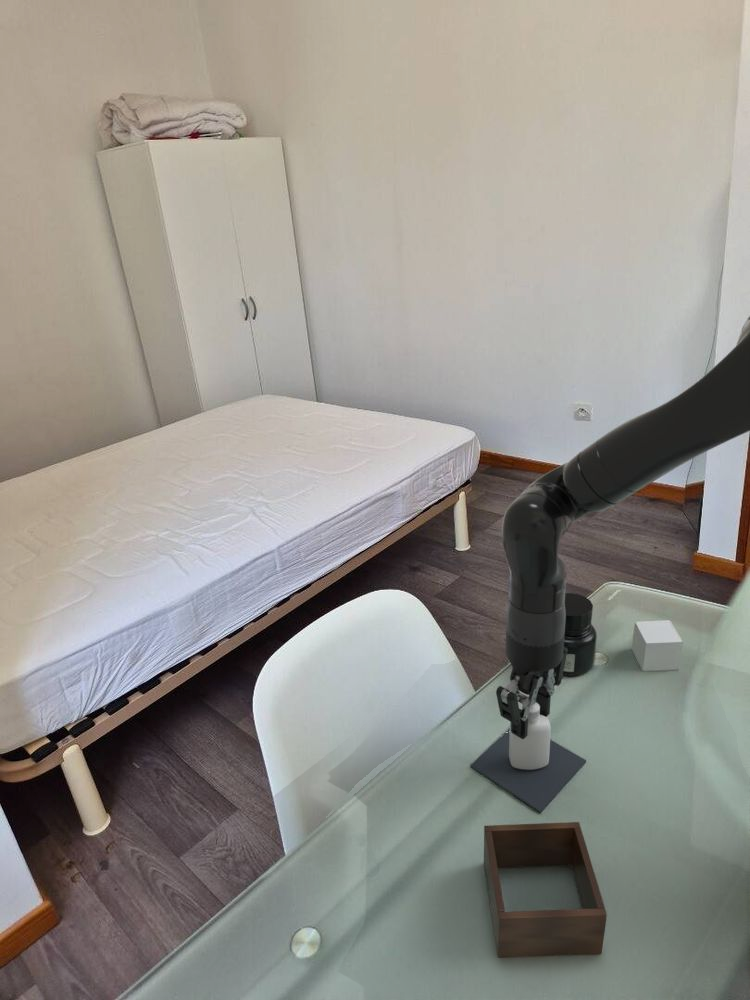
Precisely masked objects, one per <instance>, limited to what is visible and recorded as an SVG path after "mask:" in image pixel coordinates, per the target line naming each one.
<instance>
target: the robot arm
mask: <svg viewBox="0 0 750 1000" xmlns="http://www.w3.org/2000/svg"><path fill="white" fill-rule="evenodd" d="M739 333H740V334H739V336H738V339H737V342H736V345H735V346H734V348H732V349H731V350H730V351H729V352H728V353H727V354H726V355H725V356H724V357H723V358H722V359H721V360H720V361H719V362H718V363H717V364H716V365H714V367H712V368H711V369H710V370H709V371H708V372H707V373H706V374H705V375H704V376H702V377H701V378H700V379H699V380H697V381H696V382H695V383H694V384H692V385H691V386H690V387H688V388H687V389H685V390H683V391H682V392H681V393H680V394H678V395H676V396H674V397H673V398H671V399H669V400H668V401H667V402H664V403H663V404H661V405H659V406H657V407H655V408H653V409H650V410H648V411H645V412H644V413H642V414H639V415H637V416H635V417H633V418H630V419H629V420H627V421H625V422H623V423H621V424H620V425H618V426H616V427H614V428H613V429H611V430H610V431H608V432H607V433H605V434H603V436H601V437H600V438H598V439H596V440H595V441H593V442H592V443H591V444H590V445H588V446H586V447H585V448H583V450H581V451H580V452H578V453H577V454H576V455H575V456H573V457H572V458H571V459H570V460H569V461H567V462H564V463H563V464H561V465H559V466H558V467H555V468H553V469H551V470H550V471H548V472H546V473H545V474H543V475H541V476H540V477H538V478H536V480H534V481H533V482H532V483H530V484H529V485H528V486H527V487H526V488H525V489H524V490H523V491H522V492H521V493H520V494H519V495H518V496H517V497H516V498H515V499H514V500H513V501H512V502H511V503H510V504H509V506H508V507H507V508H506V510H505V512H504V515H503V519H502V525H501V541H502V545H503V550H504V553H505V559H506V563H507V566H508V569H509V577H508V600H507V606H506V612H505V613H506V616H505V617H506V619H505V655H506V657H507V659H508V661H509V663H510V665H511V666H512V669H511V672H510V676H509V683H508V684H507V685H506V686H505V687H503V686H501V685H499V686H498V687H497V688H496V691H495V694H496V695H495V696H496V699H497V700H496V701H497V704H498V705H497V706H498V709H499V714H500V715H499V716H501V717H502V718H504V719H505V720H507V721H509V723H510V722H511V733H513V734H514V735H516V736H518V737H519V738H521V739H524V738H525V737H527V732H528V714H529V710H530V706H532V705H534V704H535V702H537V703H538V704H539V706H540V715H543V716H545V717H547V718H548V716H549V715H550V714H551V699H552V696H553V694H554V693H555V686H557V687H559V686H560V685H561V684H562V680H563V676H564V675H563V671H564V666H565V661H566V656H567V651H568V649H567V648H565V647H564V635H565V621H566V611H565V593H566V589H567V568H566V564H565V562H564V560H563V559H562V558H561V557H560V556H559V547H560V543H561V539H562V538H563V536H564V535H565V533H566V532H567V531H568V529H569V528H570V527H571V526H572V525H574V523H576V522H577V521H578V520H580V519H581V518H583V517H585V516H586V515H588V514H589V513H599V512H603V511H606V510H609V509H610V508H612V507H614V506H616V505H617V504H619V503H620V502H623V501H624V500H626V499H628V498H629V497H631V496H632V495H634V494H636V493H638V492H639V491H640V490H642V489H644V488H645V487H647V486H649V485H650V484H651V483H654V482H655V481H657V480H659V479H660V478H662V477H663V476H665V475H667V474H668V473H670V472H672V471H673V470H675V469H677V468H678V467H680V466H682V465H684V464H686V463H687V462H689V461H691V460H693V459H695V458H696V457H698V456H700V455H703V454H704V453H707V452H708V451H710V450H713V449H714V448H716V447H718V446H721V445H723V444H726V443H727V442H729V441H731V440H734V439H735V438H738V437H739V436H742V435H744V434H746V433H749V432H750V315H749V316H748V317H747V319H746V320H745V322H744V324H743V325H742V328H741V330H740V332H739ZM554 669H555V670H556V672H554ZM554 673H555V674H554ZM519 703H520V704H521V705H523V709H522V708H520V706H519Z"/></svg>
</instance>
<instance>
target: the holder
mask: <svg viewBox="0 0 750 1000" xmlns="http://www.w3.org/2000/svg"><path fill="white" fill-rule="evenodd" d="M563 866H565V867H566V866H570V869H571V873H572V876H573V879H574V883H575V887H576V890H577V894H578V897H579V902H580V905H581V908H578V909H577V908H575V909H574V908H571V909H547V910H546V909H545V910H520V911H519V910H517V911H506V910H505V909H506V908H505V904H504V897H503V892H502V886H501V880H500V873H499V869H507V868H509V869H510V868H534V867H535V868H536V867H563ZM483 867H484V874H485V880H486V887H487V894H488V902H489V908H490V914H491V922H492V927H493V934H494V940H495V947H496V948H495V949H496V954H497V958H521V957H522V958H523V957H549V956H550V957H553V956H581V955H582V956H583V955H602V953H603V947H604V939H605V933H606V925H607V919H608V918H607V917H608V913H607V910H606V907H605V904H604V900H603V897H602V894H601V890H600V887H599V883H598V880H597V876H596V874H595V871H594V867H593V864H592V861H591V857H590V854H589V850H588V847H587V844H586V840H585V837H584V834H583V830H582V828H581V824H580V822H579V821H573V822H572V821H571V822H570V821H568V822H544V823H543V822H542V823H520V824H518V823H517V824H494V825H484V826H483Z"/></svg>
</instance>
